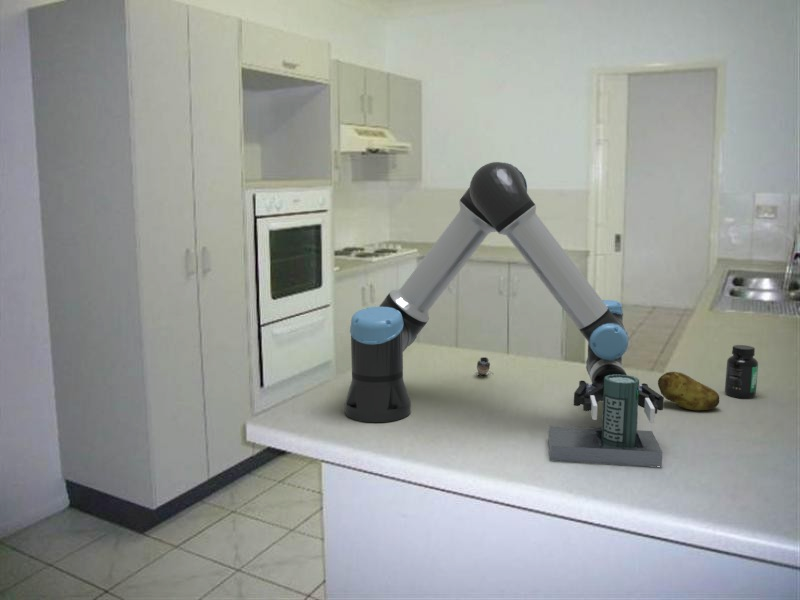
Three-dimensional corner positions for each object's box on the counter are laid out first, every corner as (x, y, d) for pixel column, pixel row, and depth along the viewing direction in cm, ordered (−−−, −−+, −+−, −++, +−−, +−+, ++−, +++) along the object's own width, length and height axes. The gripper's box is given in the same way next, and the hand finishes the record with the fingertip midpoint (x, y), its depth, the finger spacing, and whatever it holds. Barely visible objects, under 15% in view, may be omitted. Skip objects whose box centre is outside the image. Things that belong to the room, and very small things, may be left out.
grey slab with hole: (550, 460, 132) (550, 445, 131) (548, 439, 143) (549, 425, 142) (661, 467, 128) (662, 452, 128) (651, 445, 139) (652, 431, 139)
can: (639, 453, 135) (644, 378, 133) (625, 462, 131) (629, 385, 128) (610, 445, 139) (614, 372, 137) (595, 454, 135) (599, 379, 132)
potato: (710, 418, 155) (713, 383, 153) (652, 406, 163) (654, 373, 161) (721, 408, 161) (723, 374, 160) (664, 397, 169) (666, 365, 168)
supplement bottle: (761, 399, 167) (765, 350, 165) (732, 399, 168) (736, 350, 165) (747, 390, 174) (751, 343, 172) (719, 390, 174) (723, 343, 172)
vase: (494, 380, 185) (492, 358, 184) (473, 381, 186) (471, 359, 185) (494, 374, 190) (493, 353, 189) (474, 375, 191) (473, 354, 190)
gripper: (662, 399, 150) (685, 436, 128) (556, 394, 153) (561, 430, 132) (664, 365, 148) (688, 397, 127) (557, 361, 152) (562, 391, 130)
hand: (623, 414), depth 129 cm, fingers open, 9 cm apart
